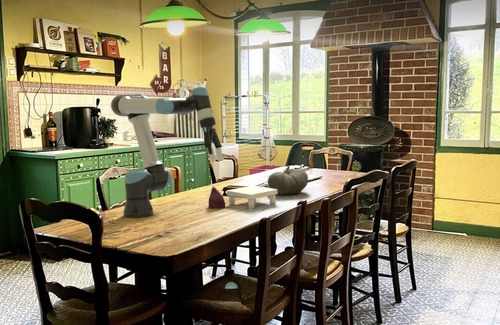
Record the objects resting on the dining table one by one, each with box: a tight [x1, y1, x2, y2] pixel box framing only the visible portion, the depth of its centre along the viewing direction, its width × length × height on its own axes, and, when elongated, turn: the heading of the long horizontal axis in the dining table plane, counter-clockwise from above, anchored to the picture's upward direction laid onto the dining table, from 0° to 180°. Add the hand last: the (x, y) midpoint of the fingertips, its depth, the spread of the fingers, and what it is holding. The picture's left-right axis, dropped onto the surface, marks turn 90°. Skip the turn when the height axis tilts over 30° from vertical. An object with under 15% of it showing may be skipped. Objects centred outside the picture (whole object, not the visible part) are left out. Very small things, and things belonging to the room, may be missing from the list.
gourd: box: [267, 165, 309, 196], centre depth 300 cm, size 25×25×17 cm
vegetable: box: [208, 186, 226, 210], centre depth 265 cm, size 10×9×14 cm
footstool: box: [226, 185, 278, 210], centre depth 272 cm, size 20×20×8 cm
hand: (217, 160), depth 236 cm, fingers open, 13 cm apart
